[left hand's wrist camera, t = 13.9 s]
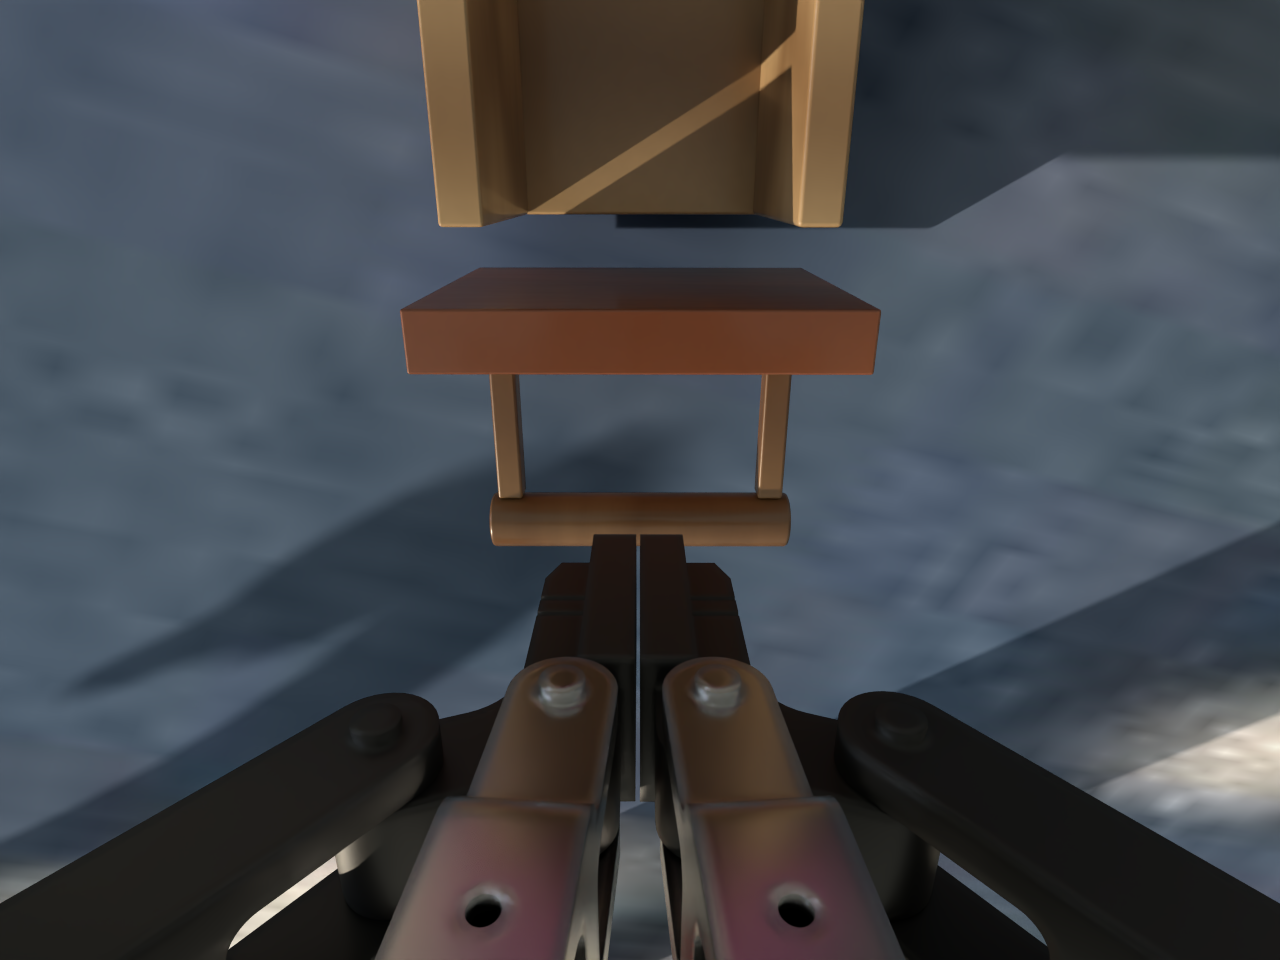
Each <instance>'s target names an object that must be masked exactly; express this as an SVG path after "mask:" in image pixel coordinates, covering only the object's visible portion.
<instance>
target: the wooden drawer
mask: <svg viewBox="0 0 1280 960" xmlns="http://www.w3.org/2000/svg"><path fill="white" fill-rule="evenodd" d="M864 2H865V0H417V5H418V15H419V26H420V36H421V46H422V57H423V67H424V78H425V88H426V98H427V109H428V119H429V129H430V140H431V150H432V160H433V171H434V181H435V192H436V202H437V212H438V223H439V225H440V226H441V227H483V226H486V225H490V224H493V223H497V222H501V221H504V220H508V219H511V218H515V217H518V216H522V215H526V214H756V215H759V216H763V217H766V218H770V219H774V220H777V221H781V222H785V223H788V224H792V225H795V226H799V227H839V226H841V225H842V223H843V214H844V204H845V194H846V184H847V173H848V163H849V153H850V143H851V133H852V123H853V113H854V103H855V93H856V82H857V72H858V62H859V52H860V42H861V32H862V22H863V12H864ZM400 314H401V323H402V331H403V339H404V348H405V356H406V364H407V372H408V374H489V378H490V391H491V404H492V417H493V429H494V442H495V455H496V468H497V481H498V493H495V494H494V495H493V498H492V501H491V506H490V534H491V539H492V542H493V544H494V545H496V546H592V542H593V535H594V534H636V546H640V534H682V535H683V541H684V546H785V545H787V543H788V540H789V537H790V530H791V511H790V503H789V500H788V497H787V495H786V494H785V493H782V489H783V476H784V464H785V451H786V439H787V426H788V414H789V401H790V389H791V376H792V375H871V374H873V372H874V366H875V358H876V349H877V341H878V333H879V325H880V317H881V310H880V309H878V308H876V307H874V306H872V305H870V304H868V303H866V302H864V301H863V300H861V299H859V298H857V297H855V296H853V295H851V294H849V293H847V292H846V291H844V290H842V289H840V288H838V287H836V286H834V285H832V284H830V283H829V282H827V281H825V280H823V279H821V278H819V277H817V276H815V275H813V274H812V273H810V272H808V271H806V270H804V269H802V268H478V269H476V270H474V271H473V272H471V273H469V274H467V275H465V276H463V277H461V278H459V279H457V280H456V281H454V282H452V283H450V284H448V285H446V286H444V287H442V288H440V289H439V290H437V291H435V292H433V293H431V294H429V295H427V296H425V297H423V298H422V299H420V300H418V301H416V302H414V303H412V304H410V305H408V306H407V307H405V308H403V309H401V310H400ZM519 374H722V375H762V382H761V398H760V413H759V429H758V444H757V459H756V475H755V491H756V493H672V492H525V489H526V482H525V465H524V449H523V433H522V417H521V401H520V385H519Z"/></svg>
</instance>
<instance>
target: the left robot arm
mask: <svg viewBox="0 0 1280 960" xmlns="http://www.w3.org/2000/svg"><path fill="white" fill-rule="evenodd" d="M635 766H636V534H594V535H593V542H592V550H591V557H590V563H561V564H560V565H559V566H558V567H557V568H556V569H555V570H554V571H553V572H552V573H551V574H550V575H549V576H548V577H547V578H546V579H545V583H544V587H543V591H542V596H541V600H540V604H539V608H538V616H537V617H536V621H535V625H534V629H533V633H532V637H531V642H530V646H529V650H528V654H527V658H526V663H525V667H524V669H523V670H522V671H520V672H519V673H518V674H517V675H516V676H515V677H514V678H513V679H512V681H511V682H510V684H509V686H508V688H507V691H506V694H505V696H504V697H503V698H502V699H500V700H499V701H497V702H495V703H493V704H491V705H489V706H487V707H484V708H482V709H479V710H476V711H472V712H469V713H465V714H460V715H456V716H451V717H447V718H442V719H439V716H438V713H437V710H436V709H435V708H434V706H433V705H432V704H431V703H429V702H428V701H427V700H425V699H423V698H421V697H419V696H415V695H412V694H406V693H385V694H379V695H373V696H370V697H366V698H363V699H360V700H358V701H355V702H353V703H351V704H349V705H347V706H345V707H343V708H341V709H340V710H338V711H336V712H334V713H333V714H331V715H329V716H327V717H326V718H324V719H322V720H320V721H319V722H317V723H315V724H313V725H312V726H310V727H308V728H306V729H305V730H303V731H301V732H299V733H298V734H296V735H294V736H292V737H291V738H289V739H287V740H285V741H284V742H282V743H280V744H278V745H277V746H275V747H273V748H271V749H270V750H268V751H266V752H264V753H263V754H261V755H259V756H257V757H256V758H254V759H252V760H250V761H249V762H247V763H245V764H243V765H242V766H240V767H238V768H236V769H235V770H233V771H231V772H229V773H228V774H226V775H224V776H222V777H221V778H219V779H217V780H215V781H214V782H212V783H210V784H208V785H207V786H205V787H203V788H201V789H200V790H198V791H196V792H194V793H193V794H191V795H189V796H187V797H186V798H184V799H182V800H180V801H179V802H177V803H175V804H173V805H172V806H170V807H168V808H166V809H165V810H163V811H161V812H159V813H158V814H156V815H154V816H152V817H151V818H149V819H147V820H145V821H144V822H142V823H140V824H138V825H137V826H135V827H133V828H131V829H130V830H128V831H126V832H124V833H123V834H121V835H119V836H117V837H116V838H114V839H112V840H110V841H109V842H107V843H105V844H103V845H102V846H100V847H98V848H96V849H95V850H93V851H91V852H89V853H88V854H86V855H84V856H82V857H81V858H79V859H77V860H75V861H74V862H72V863H70V864H68V865H67V866H65V867H63V868H61V869H60V870H58V871H56V872H54V873H53V874H51V875H49V876H47V877H46V878H44V879H42V880H40V881H39V882H37V883H35V884H33V885H32V886H30V887H28V888H26V889H25V890H23V891H21V892H19V893H18V894H16V895H14V896H12V897H11V898H9V899H7V900H5V901H4V902H2V903H0V960H607V959H608V951H609V942H610V934H611V926H612V917H613V909H614V900H615V892H616V883H617V875H618V867H619V858H620V801H635ZM640 802H655V823H656V830H657V832H658V835H659V837H660V858H661V867H662V875H663V883H664V892H665V900H666V909H667V917H668V926H669V934H670V942H671V951H672V959H673V960H1280V903H1278V902H1276V901H1274V900H1273V899H1271V898H1269V897H1267V896H1266V895H1264V894H1262V893H1260V892H1259V891H1257V890H1255V889H1253V888H1252V887H1250V886H1248V885H1246V884H1245V883H1243V882H1241V881H1239V880H1238V879H1236V878H1234V877H1232V876H1231V875H1229V874H1227V873H1225V872H1224V871H1222V870H1220V869H1218V868H1217V867H1215V866H1213V865H1211V864H1210V863H1208V862H1206V861H1205V860H1203V859H1201V858H1199V857H1198V856H1196V855H1194V854H1192V853H1191V852H1189V851H1187V850H1185V849H1184V848H1182V847H1180V846H1178V845H1177V844H1175V843H1173V842H1171V841H1170V840H1168V839H1166V838H1164V837H1163V836H1161V835H1159V834H1157V833H1156V832H1154V831H1152V830H1150V829H1149V828H1147V827H1145V826H1143V825H1142V824H1140V823H1138V822H1136V821H1135V820H1133V819H1131V818H1129V817H1128V816H1126V815H1124V814H1122V813H1121V812H1119V811H1117V810H1115V809H1114V808H1112V807H1110V806H1108V805H1107V804H1105V803H1103V802H1101V801H1100V800H1098V799H1096V798H1094V797H1093V796H1091V795H1089V794H1087V793H1086V792H1084V791H1082V790H1080V789H1079V788H1077V787H1075V786H1073V785H1072V784H1070V783H1068V782H1066V781H1065V780H1063V779H1061V778H1059V777H1058V776H1056V775H1054V774H1052V773H1051V772H1049V771H1047V770H1045V769H1044V768H1042V767H1040V766H1038V765H1037V764H1035V763H1033V762H1031V761H1030V760H1028V759H1026V758H1024V757H1023V756H1021V755H1019V754H1017V753H1016V752H1014V751H1012V750H1010V749H1009V748H1007V747H1005V746H1003V745H1002V744H1000V743H998V742H996V741H995V740H993V739H991V738H989V737H988V736H986V735H984V734H982V733H981V732H979V731H977V730H975V729H974V728H972V727H970V726H968V725H967V724H965V723H963V722H961V721H960V720H958V719H956V718H954V717H953V716H951V715H949V714H947V713H946V712H944V711H942V710H940V709H939V708H937V707H935V706H933V705H931V704H929V703H927V702H926V701H924V700H921V699H918V698H916V697H913V696H909V695H906V694H902V693H896V692H886V691H876V692H868V693H863V694H860V695H857V696H855V697H853V698H851V699H850V700H848V701H847V702H846V703H845V704H844V705H843V707H842V708H841V710H840V712H839V716H838V720H835V719H831V718H827V717H822V716H818V715H813V714H809V713H805V712H801V711H798V710H795V709H792V708H790V707H787V706H785V705H783V704H781V703H779V702H778V701H777V699H776V696H775V694H774V691H773V688H772V686H771V684H770V682H769V681H768V679H767V678H766V677H765V676H764V675H763V674H762V673H761V672H760V671H758V670H757V669H755V668H754V667H752V666H750V661H749V657H748V653H747V648H746V644H745V640H744V635H743V631H742V627H741V622H740V618H739V616H738V609H737V605H736V600H735V596H734V592H733V587H732V583H731V579H730V578H729V577H728V576H727V575H726V574H725V573H724V572H723V571H722V570H721V569H720V568H719V567H718V566H717V565H716V564H715V563H686V557H685V549H684V541H683V535H682V534H640ZM940 852H941V853H942V854H944V855H945V856H946V857H948V858H949V859H950V860H952V861H953V862H955V863H956V864H957V865H959V866H960V867H961V868H963V869H964V870H966V871H967V872H968V873H970V874H971V875H972V876H974V877H975V878H977V879H978V880H979V881H981V882H982V883H983V884H985V885H986V886H988V887H989V888H990V889H992V890H993V891H994V892H996V893H997V894H999V895H1000V896H1001V897H1003V898H1004V899H1006V900H1007V901H1008V902H1010V903H1011V904H1012V905H1014V906H1015V907H1017V908H1018V909H1019V910H1020V911H1022V912H1023V913H1024V914H1025V915H1026V916H1027V917H1028V918H1029V919H1030V920H1031V921H1032V922H1033V923H1034V924H1035V926H1036V927H1037V928H1038V930H1039V931H1040V932H1041V934H1042V936H1043V938H1044V939H1045V942H1046V944H1047V946H1048V947H1047V946H1046V945H1045V944H1043V943H1042V942H1041V941H1039V940H1038V939H1037V938H1035V937H1034V936H1032V935H1031V934H1030V933H1028V932H1027V931H1026V930H1024V929H1023V928H1022V927H1020V926H1019V925H1018V924H1016V923H1015V922H1014V921H1012V920H1011V919H1010V918H1008V917H1007V916H1006V915H1004V914H1003V913H1002V912H1000V911H999V910H997V909H996V908H995V907H993V906H992V905H991V904H989V903H988V902H987V901H985V900H984V899H983V898H981V897H980V896H979V895H977V894H976V893H975V892H973V891H972V890H971V889H969V888H968V887H967V886H965V885H964V884H962V883H961V882H960V881H958V880H957V879H956V878H954V877H953V876H952V875H950V874H949V873H948V872H946V871H945V870H944V869H942V868H941V867H940V866H938V860H939V855H940ZM334 856H335V858H336V863H337V867H338V869H336V870H335V871H334V872H332V873H331V874H330V875H328V876H327V877H326V878H324V879H323V880H322V881H320V882H319V883H317V884H316V885H315V886H313V887H312V888H311V889H309V890H308V891H307V892H305V893H304V894H303V895H301V896H300V897H299V898H297V899H296V900H295V901H293V902H292V903H291V904H289V905H288V906H287V907H285V908H284V909H283V910H281V911H280V912H278V913H277V914H276V915H274V916H273V917H272V918H270V919H269V920H268V921H266V922H265V923H264V924H262V925H261V926H260V927H258V928H257V929H256V930H254V931H253V932H252V933H250V934H249V935H248V936H246V937H245V938H243V939H242V940H241V941H239V942H238V943H237V944H235V945H234V946H233V947H231V948H230V949H229V947H230V944H231V942H232V940H233V939H234V937H235V935H236V934H237V932H238V931H239V930H240V928H241V927H242V926H243V925H244V924H245V923H246V922H247V921H248V920H249V919H250V918H251V917H252V916H253V915H254V914H255V913H257V912H258V911H259V910H261V909H262V908H263V907H265V906H266V905H268V904H269V903H270V902H272V901H273V900H274V899H276V898H277V897H279V896H280V895H281V894H283V893H284V892H285V891H287V890H288V889H290V888H291V887H292V886H294V885H295V884H296V883H298V882H299V881H301V880H302V879H303V878H305V877H306V876H307V875H309V874H310V873H312V872H313V871H314V870H316V869H317V868H318V867H320V866H321V865H323V864H324V863H325V862H327V861H328V860H330V859H331V858H332V857H334ZM228 949H229V950H228Z"/></svg>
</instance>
